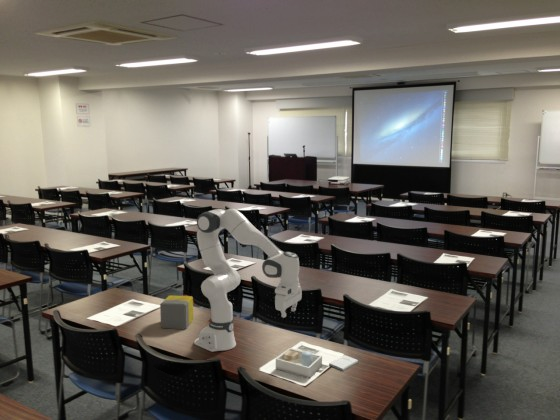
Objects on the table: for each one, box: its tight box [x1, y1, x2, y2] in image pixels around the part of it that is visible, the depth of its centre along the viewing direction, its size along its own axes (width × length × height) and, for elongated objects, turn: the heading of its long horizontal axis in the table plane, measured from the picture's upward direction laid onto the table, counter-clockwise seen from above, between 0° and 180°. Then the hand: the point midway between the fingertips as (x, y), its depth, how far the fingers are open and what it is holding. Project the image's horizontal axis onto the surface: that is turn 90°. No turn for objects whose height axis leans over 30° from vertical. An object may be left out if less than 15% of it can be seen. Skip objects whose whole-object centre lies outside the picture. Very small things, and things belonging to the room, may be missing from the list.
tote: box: [275, 347, 323, 379], centre depth 219 cm, size 18×14×5 cm
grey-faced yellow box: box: [159, 294, 195, 330], centre depth 275 cm, size 15×24×15 cm, turn 174°
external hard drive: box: [328, 354, 359, 372], centre depth 224 cm, size 2×8×12 cm
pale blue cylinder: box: [302, 350, 313, 367], centre depth 217 cm, size 5×5×7 cm
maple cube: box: [284, 350, 298, 364], centre depth 221 cm, size 5×5×5 cm
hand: (288, 313), depth 223 cm, fingers open, 8 cm apart
